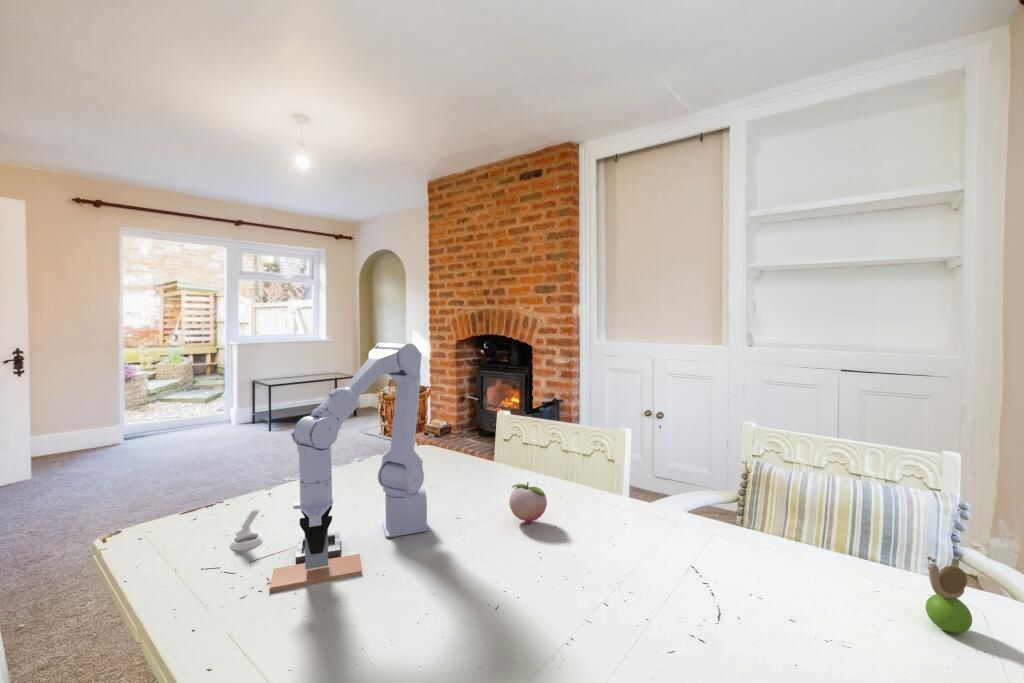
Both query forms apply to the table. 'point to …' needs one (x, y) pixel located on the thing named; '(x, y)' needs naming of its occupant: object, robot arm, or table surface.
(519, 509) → the decorative fruit
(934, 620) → the snail figurine
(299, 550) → the iron collar
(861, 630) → the table surface
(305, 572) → the terracotta tile
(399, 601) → the table surface
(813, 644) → the table surface
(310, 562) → the metal peg
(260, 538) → the white handled ring
